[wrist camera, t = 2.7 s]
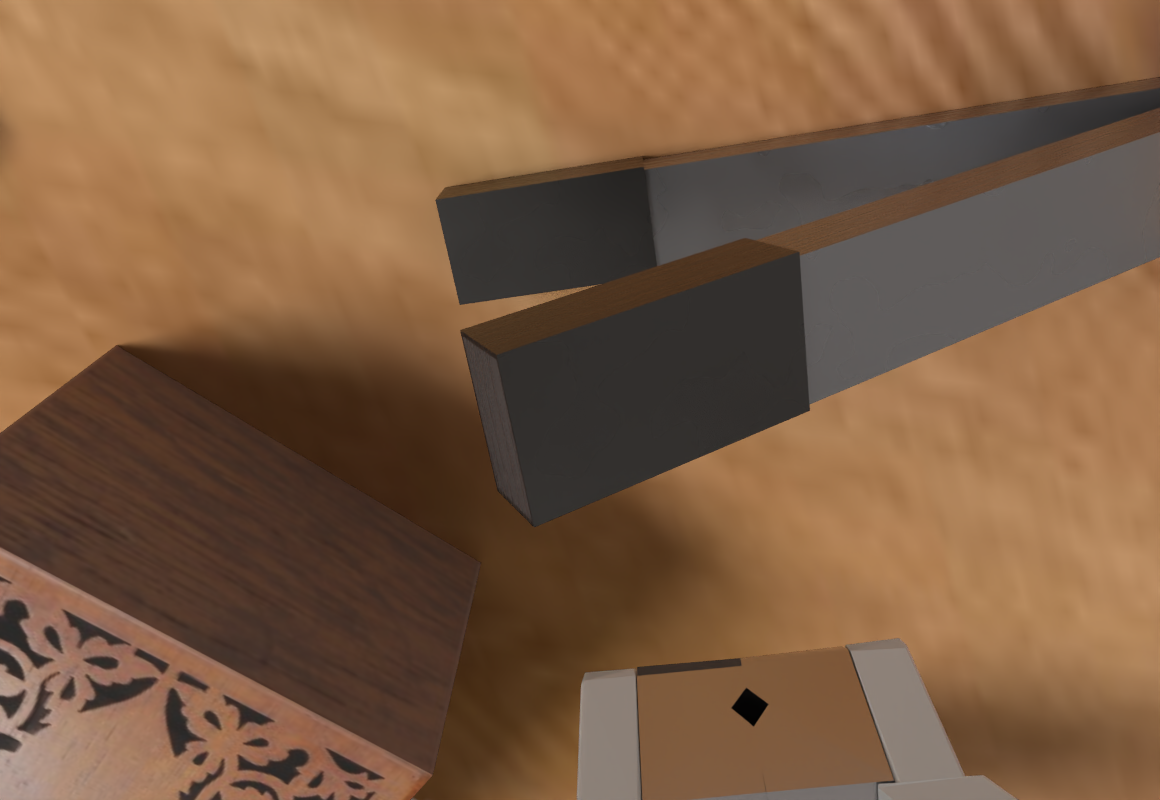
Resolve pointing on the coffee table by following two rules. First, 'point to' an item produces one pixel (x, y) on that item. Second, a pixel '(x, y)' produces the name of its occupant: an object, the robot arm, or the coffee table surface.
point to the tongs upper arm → (798, 315)
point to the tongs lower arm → (734, 190)
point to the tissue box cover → (209, 609)
